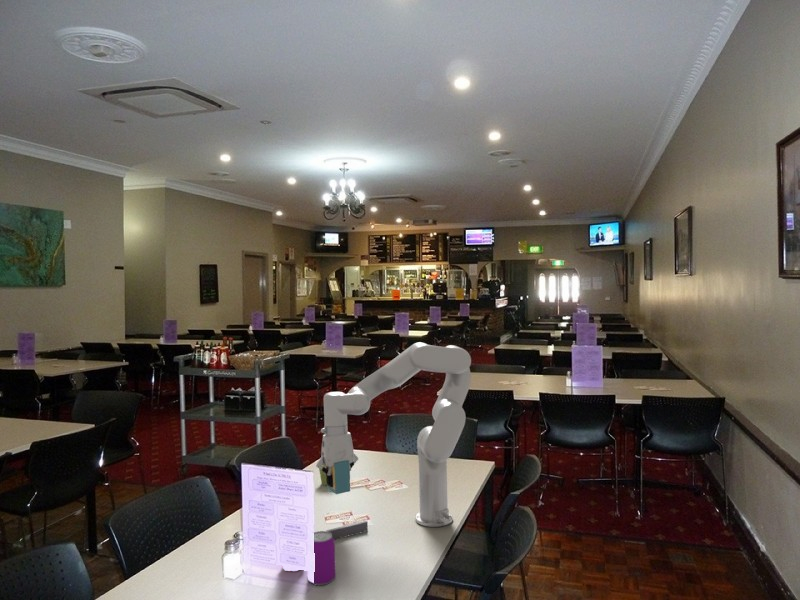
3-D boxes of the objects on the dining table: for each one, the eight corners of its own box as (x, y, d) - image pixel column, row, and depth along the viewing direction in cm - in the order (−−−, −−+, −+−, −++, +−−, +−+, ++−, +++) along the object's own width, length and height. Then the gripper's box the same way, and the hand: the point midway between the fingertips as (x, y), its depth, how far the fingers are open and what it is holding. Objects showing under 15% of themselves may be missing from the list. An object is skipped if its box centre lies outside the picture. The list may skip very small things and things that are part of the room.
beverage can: (301, 581, 156) (300, 537, 155) (320, 570, 162) (319, 527, 162) (322, 589, 151) (321, 544, 151) (341, 577, 158) (340, 533, 157)
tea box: (341, 485, 195) (340, 456, 195) (350, 491, 189) (349, 460, 189) (327, 488, 192) (326, 458, 192) (335, 494, 186) (334, 463, 186)
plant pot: (312, 483, 236) (312, 462, 236) (331, 478, 242) (331, 457, 242) (325, 488, 229) (325, 467, 229) (345, 483, 235) (344, 462, 235)
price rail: (367, 530, 188) (367, 521, 188) (327, 541, 181) (327, 531, 181) (362, 527, 191) (362, 518, 191) (323, 537, 184) (323, 527, 184)
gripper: (316, 436, 183) (318, 493, 183) (364, 428, 191) (366, 482, 192) (307, 431, 189) (310, 486, 189) (354, 423, 198) (356, 476, 198)
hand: (338, 483), depth 191 cm, fingers closed on tea box, 5 cm apart
